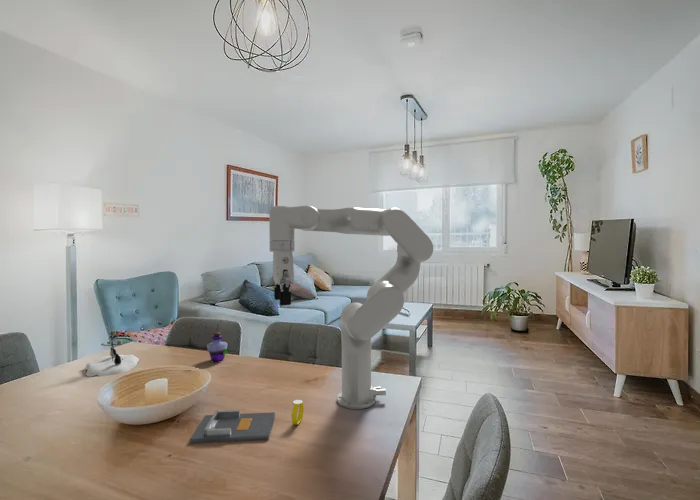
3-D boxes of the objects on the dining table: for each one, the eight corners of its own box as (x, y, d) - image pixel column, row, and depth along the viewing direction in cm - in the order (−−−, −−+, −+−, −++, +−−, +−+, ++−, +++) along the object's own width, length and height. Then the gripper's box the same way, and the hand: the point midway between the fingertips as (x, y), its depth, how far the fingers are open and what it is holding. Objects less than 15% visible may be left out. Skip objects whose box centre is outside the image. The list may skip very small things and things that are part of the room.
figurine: (91, 360, 150) (89, 323, 148) (140, 355, 157) (140, 319, 155) (78, 382, 132) (76, 341, 130) (134, 375, 139) (134, 335, 137)
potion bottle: (226, 362, 149) (226, 334, 148) (205, 364, 147) (204, 335, 147) (229, 356, 157) (228, 329, 157) (208, 357, 156) (208, 330, 155)
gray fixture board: (274, 416, 104) (274, 407, 104) (268, 439, 92) (268, 429, 92) (205, 419, 103) (205, 410, 103) (190, 443, 91) (189, 433, 91)
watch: (298, 428, 98) (298, 407, 97) (289, 427, 98) (289, 406, 98) (306, 417, 103) (305, 397, 103) (297, 416, 104) (296, 396, 104)
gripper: (300, 247, 101) (300, 306, 102) (288, 246, 117) (288, 297, 118) (274, 247, 99) (274, 308, 99) (265, 246, 115) (266, 298, 115)
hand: (282, 302), depth 109 cm, fingers open, 9 cm apart
